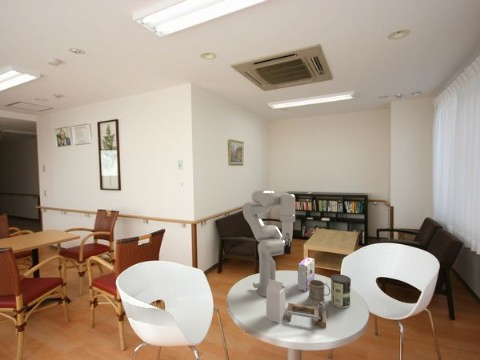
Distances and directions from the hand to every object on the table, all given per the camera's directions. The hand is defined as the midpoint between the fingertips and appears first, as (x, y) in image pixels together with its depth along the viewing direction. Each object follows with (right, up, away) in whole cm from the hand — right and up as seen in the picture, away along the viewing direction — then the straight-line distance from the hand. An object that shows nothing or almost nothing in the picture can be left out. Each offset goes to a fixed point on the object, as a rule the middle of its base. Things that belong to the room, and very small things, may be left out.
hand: (287, 250), depth 131 cm
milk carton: (-7, -33, -3) cm, 34 cm away
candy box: (+17, -31, +29) cm, 46 cm away
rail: (+6, -33, -8) cm, 34 cm away
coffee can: (+31, -32, +10) cm, 46 cm away
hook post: (+14, -30, -10) cm, 35 cm away
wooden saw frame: (+9, -33, -3) cm, 34 cm away
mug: (+20, -32, +12) cm, 39 cm away
